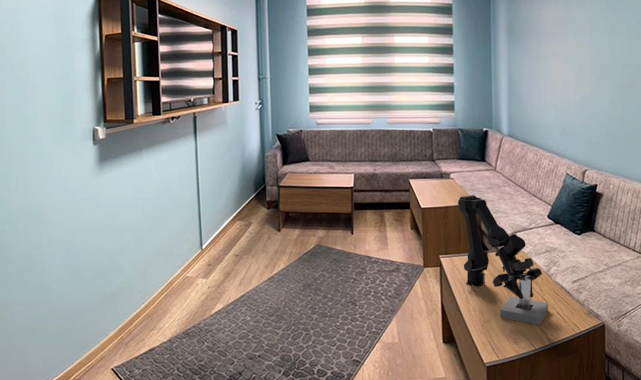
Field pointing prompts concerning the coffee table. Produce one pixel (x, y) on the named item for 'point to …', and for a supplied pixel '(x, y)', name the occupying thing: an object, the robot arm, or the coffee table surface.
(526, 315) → the pocket block
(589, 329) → the coffee table surface
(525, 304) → the steel peg
